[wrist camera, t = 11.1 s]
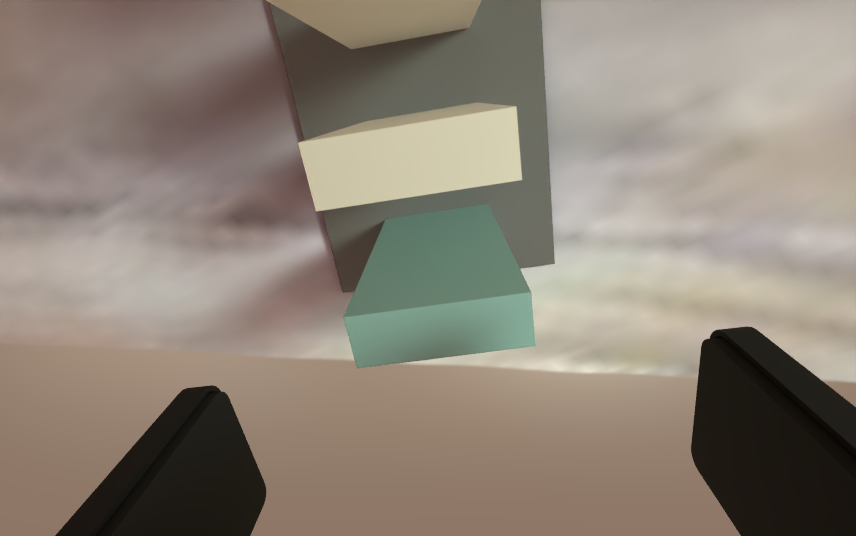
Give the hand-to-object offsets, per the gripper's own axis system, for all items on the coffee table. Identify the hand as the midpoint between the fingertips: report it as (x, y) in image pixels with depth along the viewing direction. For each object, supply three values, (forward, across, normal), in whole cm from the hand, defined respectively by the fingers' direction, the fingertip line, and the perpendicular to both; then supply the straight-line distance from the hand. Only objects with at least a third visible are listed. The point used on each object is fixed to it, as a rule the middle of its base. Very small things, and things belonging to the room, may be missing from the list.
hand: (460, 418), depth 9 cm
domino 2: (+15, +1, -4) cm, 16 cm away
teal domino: (+15, +1, +1) cm, 15 cm away
